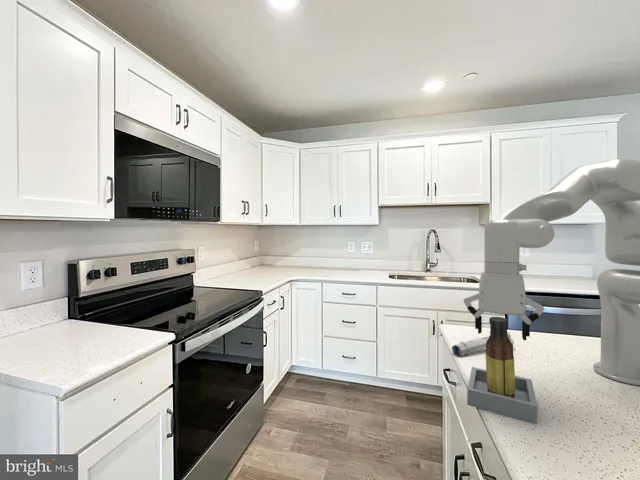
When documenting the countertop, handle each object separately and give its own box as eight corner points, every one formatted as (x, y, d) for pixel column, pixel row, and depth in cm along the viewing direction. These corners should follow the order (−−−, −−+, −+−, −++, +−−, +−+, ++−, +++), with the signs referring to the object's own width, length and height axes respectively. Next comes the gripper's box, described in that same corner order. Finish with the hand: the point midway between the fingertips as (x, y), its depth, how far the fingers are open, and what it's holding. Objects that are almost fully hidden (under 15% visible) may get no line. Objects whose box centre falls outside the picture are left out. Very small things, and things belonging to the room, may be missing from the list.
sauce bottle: (510, 390, 77) (511, 316, 76) (518, 404, 71) (519, 323, 70) (482, 387, 79) (483, 314, 78) (488, 399, 73) (489, 321, 72)
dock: (531, 394, 77) (531, 379, 77) (537, 424, 65) (537, 406, 65) (471, 380, 84) (471, 366, 84) (467, 405, 73) (467, 389, 72)
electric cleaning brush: (449, 342, 104) (503, 325, 111) (451, 360, 104) (505, 342, 111) (460, 347, 99) (516, 330, 106) (463, 366, 99) (518, 347, 106)
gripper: (542, 268, 73) (541, 336, 73) (465, 265, 82) (465, 325, 82) (546, 272, 66) (545, 346, 67) (462, 268, 75) (462, 333, 76)
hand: (501, 335), depth 74 cm, fingers open, 9 cm apart
